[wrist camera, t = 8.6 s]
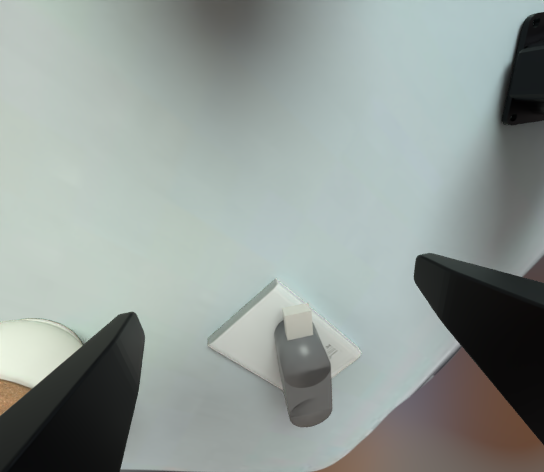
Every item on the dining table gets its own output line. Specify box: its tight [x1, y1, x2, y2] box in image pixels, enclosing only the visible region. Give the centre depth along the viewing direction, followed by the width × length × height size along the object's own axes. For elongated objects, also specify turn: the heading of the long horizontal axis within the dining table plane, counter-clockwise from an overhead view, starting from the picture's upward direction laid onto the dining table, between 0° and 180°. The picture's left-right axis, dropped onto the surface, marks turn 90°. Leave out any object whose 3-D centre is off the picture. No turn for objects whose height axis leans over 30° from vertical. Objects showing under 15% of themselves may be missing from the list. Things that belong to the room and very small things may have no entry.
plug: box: [274, 303, 332, 427], centre depth 24 cm, size 14×4×4 cm, turn 7°
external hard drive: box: [208, 278, 362, 390], centre depth 26 cm, size 2×8×12 cm
